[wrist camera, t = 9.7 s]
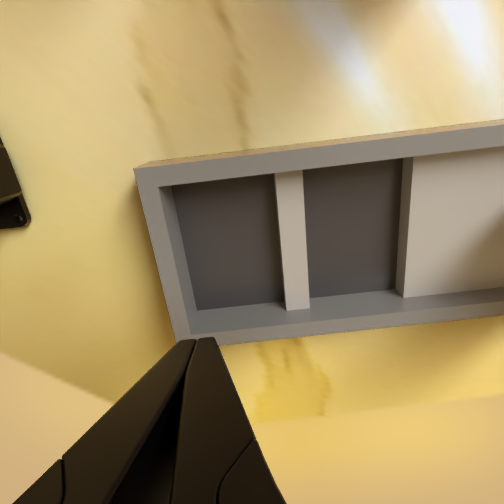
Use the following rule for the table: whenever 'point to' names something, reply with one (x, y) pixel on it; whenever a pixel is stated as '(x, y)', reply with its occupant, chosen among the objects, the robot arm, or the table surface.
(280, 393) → the table surface
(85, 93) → the table surface
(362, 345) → the table surface
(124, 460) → the robot arm
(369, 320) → the box
